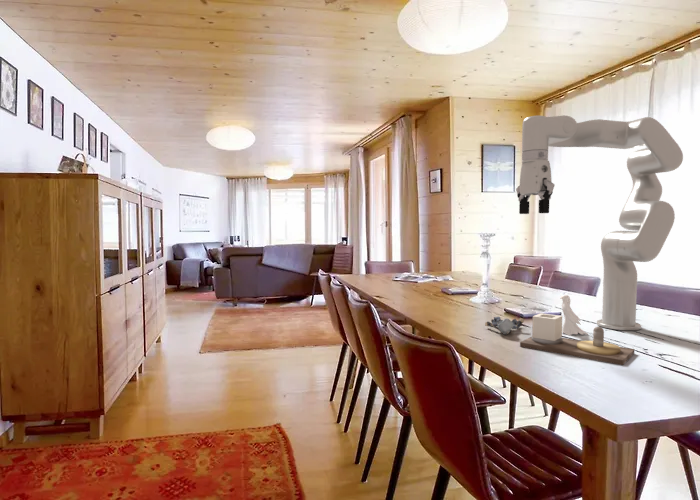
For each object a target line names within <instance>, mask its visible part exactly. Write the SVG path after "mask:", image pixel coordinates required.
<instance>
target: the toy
mask: <svg viewBox="0 0 700 500" xmlns="http://www.w3.org/2000/svg"><path fill="white" fill-rule="evenodd" d="M490 321H491V322H490ZM490 321H486V322H484V326H485V327H490V328H494V327H496V329H498V330H499V331H500V332H501V333H502V334H503V335H504V336H506V335H508V334H509V333H512V332H511V330H519V328H520V327H522V326H523V325H522V324H523V323H524V321H525V320H524V318H521V317H519V318H518V320H517V319H516V318H514V319H512V320H511V319H510V318H504V319H501V317H500V316H495V317H493V318H491V320H490Z"/></svg>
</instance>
